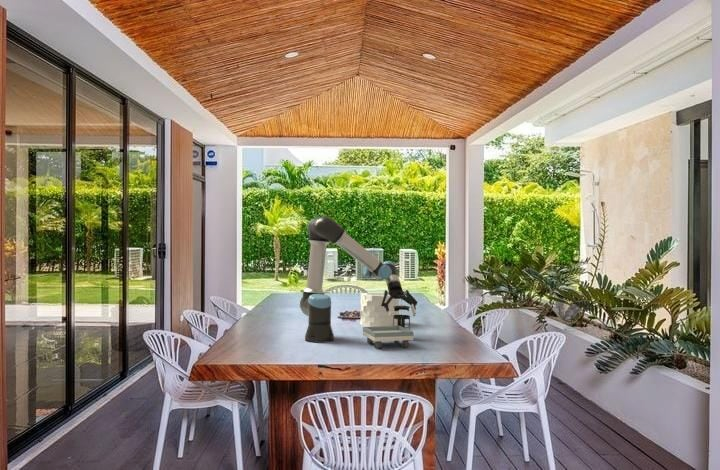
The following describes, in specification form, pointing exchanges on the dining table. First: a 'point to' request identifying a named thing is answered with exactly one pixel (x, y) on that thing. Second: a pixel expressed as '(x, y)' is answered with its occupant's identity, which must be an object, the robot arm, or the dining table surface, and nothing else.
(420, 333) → the dining table surface
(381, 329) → the grey tray with legs
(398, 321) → the french press
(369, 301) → the basket
